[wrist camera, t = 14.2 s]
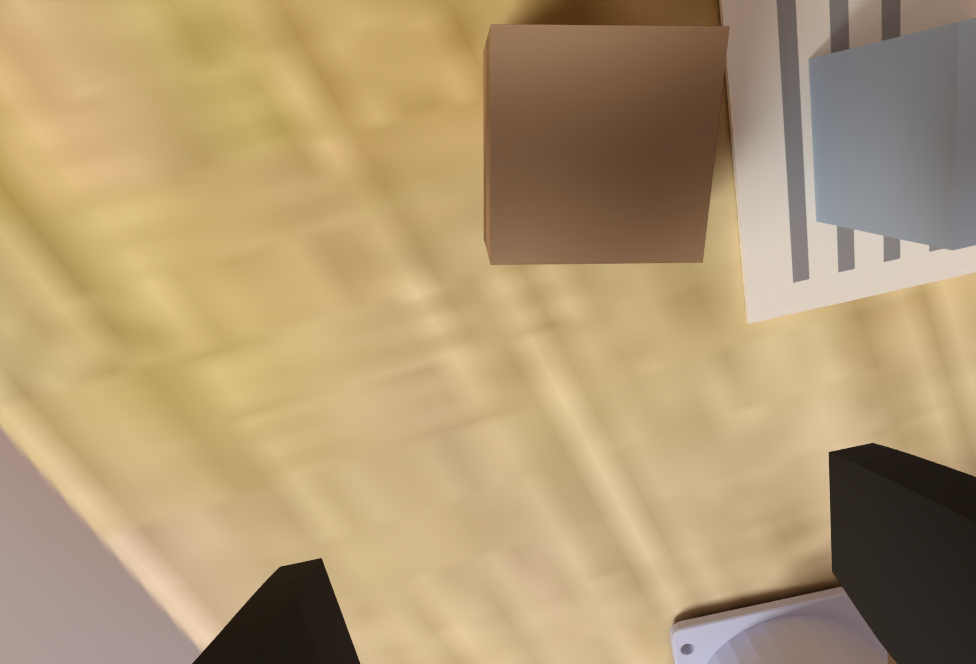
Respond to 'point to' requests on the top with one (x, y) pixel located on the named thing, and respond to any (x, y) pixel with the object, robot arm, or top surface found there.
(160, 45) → the top surface
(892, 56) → the slate cube
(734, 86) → the letter
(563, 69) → the walnut block
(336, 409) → the top surface
